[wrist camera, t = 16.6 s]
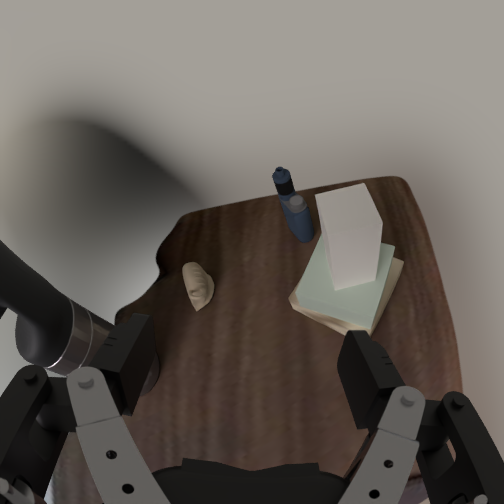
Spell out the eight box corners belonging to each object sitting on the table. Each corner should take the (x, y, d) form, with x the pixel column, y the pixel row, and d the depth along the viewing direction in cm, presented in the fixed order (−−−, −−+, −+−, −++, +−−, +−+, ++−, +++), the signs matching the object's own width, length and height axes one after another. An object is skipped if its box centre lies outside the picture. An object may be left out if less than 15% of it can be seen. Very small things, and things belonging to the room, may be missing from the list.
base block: (293, 309, 39) (288, 298, 35) (332, 247, 42) (330, 231, 39) (365, 346, 33) (367, 338, 30) (399, 276, 36) (404, 261, 33)
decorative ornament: (208, 265, 46) (193, 247, 42) (221, 310, 41) (206, 294, 37) (186, 276, 47) (170, 259, 42) (197, 320, 42) (179, 306, 37)
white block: (334, 290, 30) (327, 236, 22) (325, 255, 33) (314, 194, 25) (375, 280, 29) (382, 222, 21) (363, 245, 32) (364, 183, 24)
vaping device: (299, 217, 46) (282, 160, 37) (317, 237, 43) (305, 180, 33) (285, 225, 46) (266, 169, 37) (303, 246, 43) (287, 190, 33)
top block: (300, 306, 34) (295, 292, 31) (326, 246, 38) (323, 228, 35) (370, 329, 30) (373, 317, 27) (391, 263, 33) (395, 246, 30)
